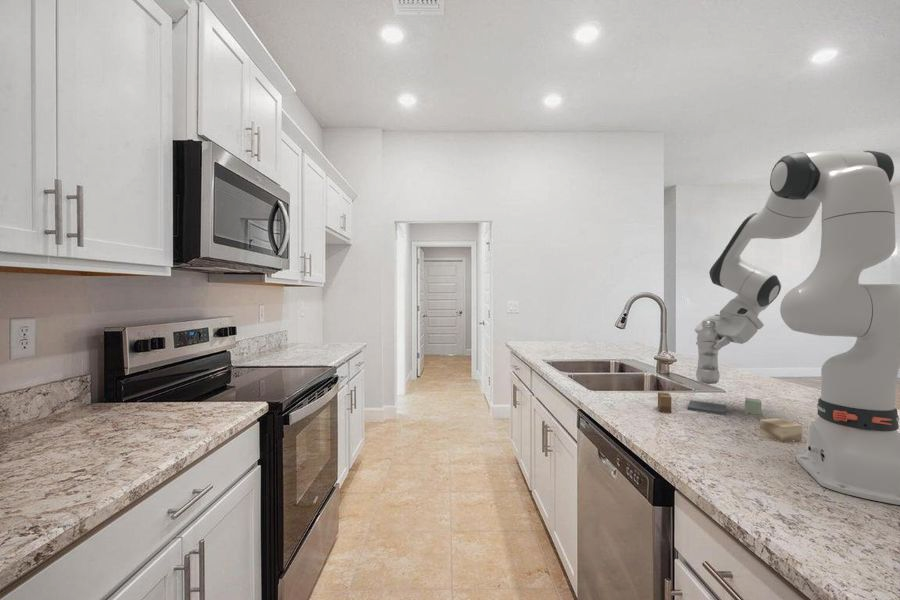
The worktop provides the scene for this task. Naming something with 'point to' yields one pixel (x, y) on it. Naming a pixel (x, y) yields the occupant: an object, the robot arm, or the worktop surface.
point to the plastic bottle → (707, 354)
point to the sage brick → (753, 406)
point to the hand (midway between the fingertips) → (706, 347)
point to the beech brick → (780, 429)
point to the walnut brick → (664, 402)
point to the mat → (707, 407)
